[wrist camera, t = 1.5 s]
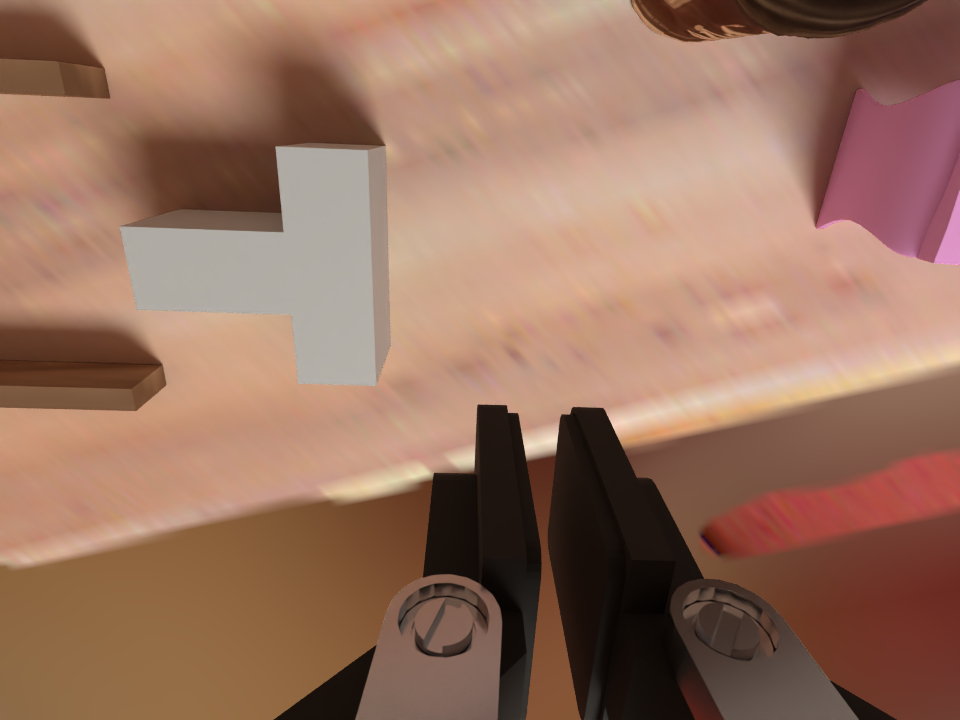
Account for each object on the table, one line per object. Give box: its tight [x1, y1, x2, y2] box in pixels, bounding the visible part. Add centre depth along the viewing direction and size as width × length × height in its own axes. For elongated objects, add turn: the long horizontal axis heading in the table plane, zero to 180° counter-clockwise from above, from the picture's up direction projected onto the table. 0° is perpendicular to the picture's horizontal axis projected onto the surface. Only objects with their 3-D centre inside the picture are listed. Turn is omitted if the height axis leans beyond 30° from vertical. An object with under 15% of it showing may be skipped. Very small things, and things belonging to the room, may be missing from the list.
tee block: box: [120, 143, 391, 386], centre depth 25 cm, size 10×10×5 cm
